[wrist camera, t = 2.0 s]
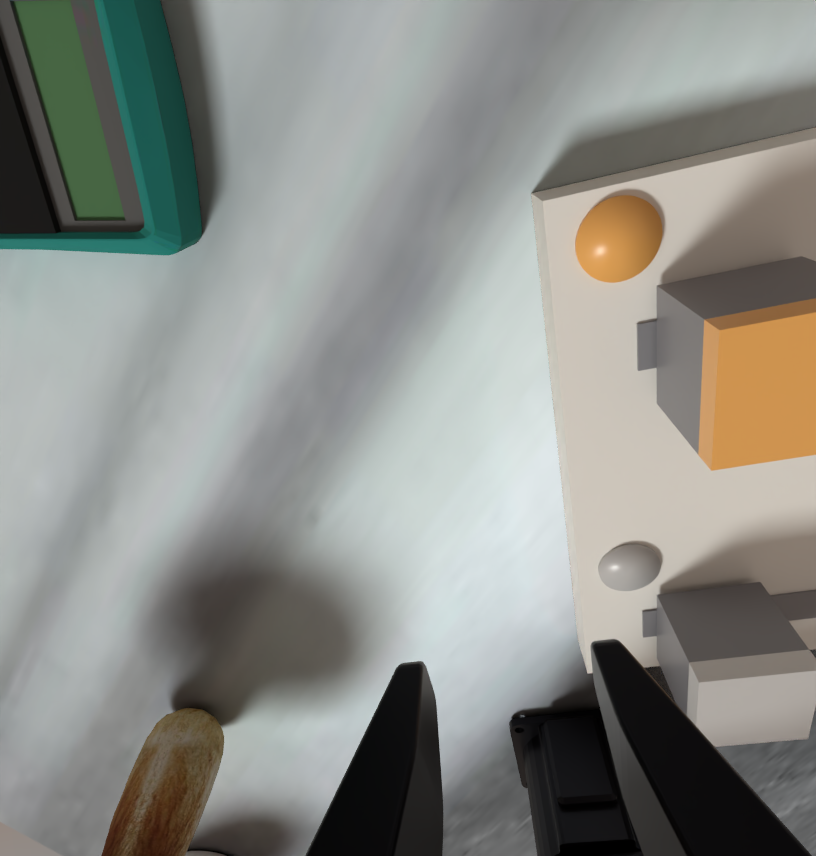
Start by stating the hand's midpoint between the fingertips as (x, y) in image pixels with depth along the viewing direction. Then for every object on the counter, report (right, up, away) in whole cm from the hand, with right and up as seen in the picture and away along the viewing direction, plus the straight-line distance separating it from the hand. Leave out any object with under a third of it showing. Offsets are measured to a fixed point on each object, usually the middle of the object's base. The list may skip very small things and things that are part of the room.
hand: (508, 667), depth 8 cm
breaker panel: (+12, +4, +12) cm, 18 cm away
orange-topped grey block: (+8, +7, +8) cm, 13 cm away
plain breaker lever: (+11, -4, +14) cm, 19 cm away
